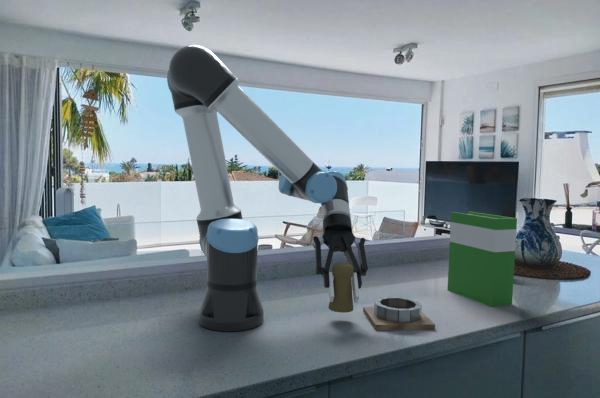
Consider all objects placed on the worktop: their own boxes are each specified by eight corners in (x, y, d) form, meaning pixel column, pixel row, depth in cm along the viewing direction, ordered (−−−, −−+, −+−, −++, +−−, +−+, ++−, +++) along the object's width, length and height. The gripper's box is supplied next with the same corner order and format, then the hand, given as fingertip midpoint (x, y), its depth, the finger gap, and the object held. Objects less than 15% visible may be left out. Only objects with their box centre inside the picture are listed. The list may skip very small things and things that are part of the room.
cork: (352, 313, 107) (354, 267, 107) (326, 310, 109) (328, 264, 108) (354, 306, 113) (356, 262, 113) (330, 303, 115) (332, 260, 114)
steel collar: (381, 323, 106) (381, 310, 106) (370, 308, 117) (370, 296, 117) (427, 322, 107) (427, 310, 107) (412, 308, 118) (412, 296, 118)
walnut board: (375, 329, 105) (375, 324, 105) (363, 311, 118) (363, 306, 118) (435, 329, 106) (435, 324, 106) (416, 311, 119) (416, 306, 119)
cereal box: (447, 290, 141) (451, 212, 139) (466, 288, 144) (470, 211, 142) (491, 306, 125) (496, 218, 123) (511, 304, 128) (517, 218, 126)
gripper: (367, 230, 126) (379, 307, 111) (301, 228, 124) (303, 306, 109) (373, 212, 120) (386, 292, 105) (303, 210, 119) (307, 290, 104)
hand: (344, 299), depth 107 cm, fingers closed on cork, 5 cm apart
